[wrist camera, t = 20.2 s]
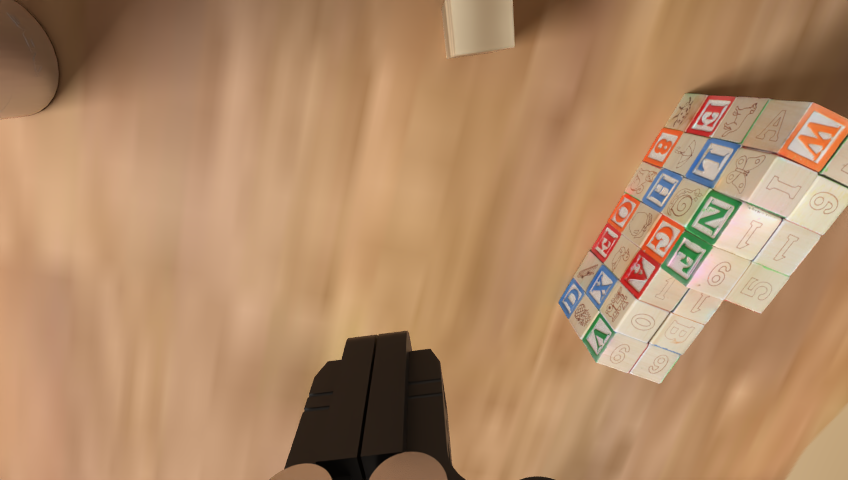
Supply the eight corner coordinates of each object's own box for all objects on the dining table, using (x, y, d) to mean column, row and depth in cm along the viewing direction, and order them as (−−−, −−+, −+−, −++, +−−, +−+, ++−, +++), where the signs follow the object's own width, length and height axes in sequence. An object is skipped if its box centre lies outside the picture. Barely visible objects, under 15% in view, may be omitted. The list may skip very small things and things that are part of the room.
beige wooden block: (446, 58, 33) (455, 55, 25) (441, 8, 31) (449, -12, 24) (491, 52, 33) (514, 47, 25) (487, 1, 31) (511, -21, 23)
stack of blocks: (610, 321, 42) (681, 414, 31) (556, 301, 41) (609, 390, 30) (746, 119, 35) (904, 144, 24) (684, 89, 34) (818, 99, 23)
